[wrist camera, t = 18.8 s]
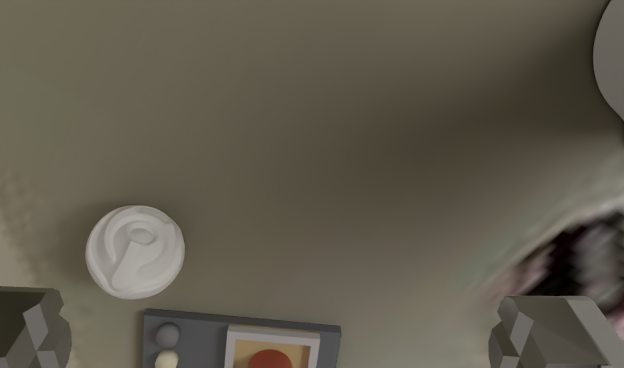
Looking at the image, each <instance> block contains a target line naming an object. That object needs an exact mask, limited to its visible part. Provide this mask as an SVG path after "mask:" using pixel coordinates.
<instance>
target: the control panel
mask: <svg viewBox="0 0 624 368" xmlns="http://www.w3.org/2000/svg"><path fill="white" fill-rule="evenodd" d="M340 338H341V328H340V326H333V325H322V324H311V323H300V322H289V321H278V320H267V319H256V318H246V317H235V316H224V315H213V314H202V313H191V312H180V311H169V310H158V309H148V308H147V310H146V312H145V314H144V325H143V361H142V368H248V364H249V361H250V359H251V358H252V357H253V356H254V355H255V354H256V353H258V352H260V351H263V350H269V349H271V350H277V351H280V352H282V353H284V354H285V355H287V356H288V358H289V359H290V360H291V363H292V367H293V368H336V362H337V356H338V350H339V344H340Z"/></svg>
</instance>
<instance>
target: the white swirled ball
mask: <svg viewBox="0 0 624 368" xmlns="http://www.w3.org/2000/svg"><path fill="white" fill-rule="evenodd" d="M184 255H185V244H184V239H183V236H182V232H181V230H180V228H179V226H178V225H177V224H176V223H175V222H174V221H173V220H172V219H171V218H170V217H168V216H167V215H166V214H165V213H163V212H162V211H160V210H158V209H155V208H152V207H148V206H136V205H129V206H123V207H120V208H117V209H115V210H113V211H111V212H109V213H108V214H106V215H105V216H104V217H103V218H101V219H100V221H99V222H98V223H97V224H96V225H95V227H94V228H93V230H92V232H91V233H90V236H89V238H88V241H87V244H86V250H85V258H86V264H87V267H88V270H89V272H90V274H91V276H92V278H93V279H94V281H95V282H96V283H97V285H98V286H99V287H100V288H101V289H103V290H104V291H105V292H107V293H108V294H110V295H112V296H115V297H118V298H121V299H141V298H146V297H150V296H153V295H156V294H158V293H160V292H161V291H163V290H164V289H165V288H166V287H167V286H169V285H170V284H171V283H172V281H173V280H174V279H175V278H176V276H177V275H178V274H179V272H180V270H181V268H182V265H183V261H184Z"/></svg>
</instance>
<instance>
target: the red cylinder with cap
mask: <svg viewBox="0 0 624 368" xmlns="http://www.w3.org/2000/svg"><path fill="white" fill-rule="evenodd" d="M248 368H293V367H292V363H291V360H290V359H289V358H288V356H287V355H285V354H284V353H282V352H280V351H277V350H271V349H269V350H263V351H260V352H258V353H256V354H255V355H254V356H253V357H252V358H251V359H250V361H249V364H248Z"/></svg>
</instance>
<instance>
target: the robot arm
mask: <svg viewBox="0 0 624 368" xmlns="http://www.w3.org/2000/svg"><path fill="white" fill-rule="evenodd" d="M593 65H594V73H595V77H596V81H597V84H598V87H599V89H600V91H601V93H602V95H603V97H604V98H605V100H606V101H607V103H608V104H609V105H610V106H611V107H612V108H613V109H614V110H615V111H616V112H617V113H618V115H619V116H620V117H621V118H622V119H623V121H624V0H611V1H610V3H609V5H608V6H607V8H606V10H605V12H604V14H603V16H602V18H601V21H600V24H599V26H598V30H597V33H596V37H595V42H594V50H593ZM63 305H64V304H63V301H62V298H61V295H60V292H59V291H58V290H55V289H53V288H30V287H6V286H0V368H65V367H66V365H67V363H68V360H69V355H70V351H71V346H72V340H71V330H70V326H69V323H68V322H67V321H66V320H65V319H63V318H62V317H61V316H60V315H59V312H60V310H61V309H62V307H63ZM497 312H498V314H499V316H500V318H501V320H502V321H501V322H500V323H499V324H497V325H496V326H495V327H494V328H492V331H491V335H490V339H489V360H490V364H491V368H624V343H623V341H622V340H621V338H620V337H619V336H618V334H617V333H616V332H615V330H614V329H613V327H612V326H611V325H610V323H609V322H608V321H607V319H606V318H605V316H604V315H603V314H602V312H601V311H600V310H599V308H598V307H597V305H596V304H595V303H594V301H593V300H591V299H590V298H588V297H587V296H558V297H556V296H505V297H504V298H503V299H502V300H501V302H500V305H499V308H498V311H497Z"/></svg>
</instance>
